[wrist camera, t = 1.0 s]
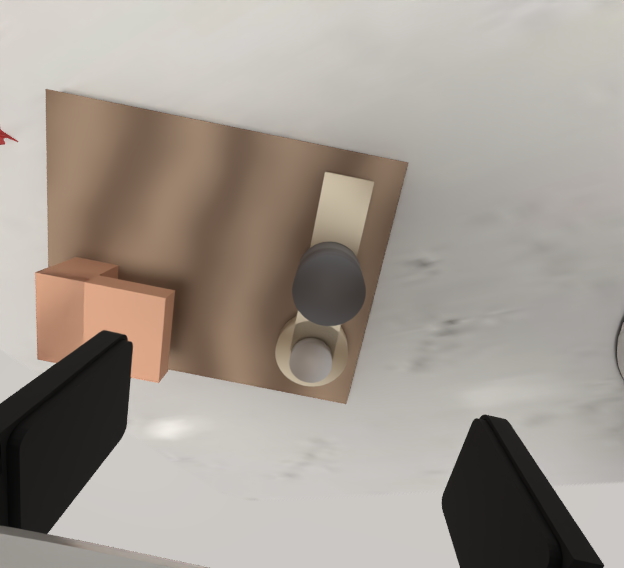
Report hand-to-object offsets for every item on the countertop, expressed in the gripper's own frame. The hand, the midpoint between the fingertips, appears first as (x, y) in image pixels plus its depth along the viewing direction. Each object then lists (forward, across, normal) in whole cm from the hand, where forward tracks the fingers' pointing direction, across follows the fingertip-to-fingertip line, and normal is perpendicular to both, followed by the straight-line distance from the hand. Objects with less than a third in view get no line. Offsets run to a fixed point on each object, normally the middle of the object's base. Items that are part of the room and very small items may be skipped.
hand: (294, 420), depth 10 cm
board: (+18, +7, +2) cm, 20 cm away
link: (+17, -1, +1) cm, 17 cm away
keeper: (+17, +13, +6) cm, 22 cm away
